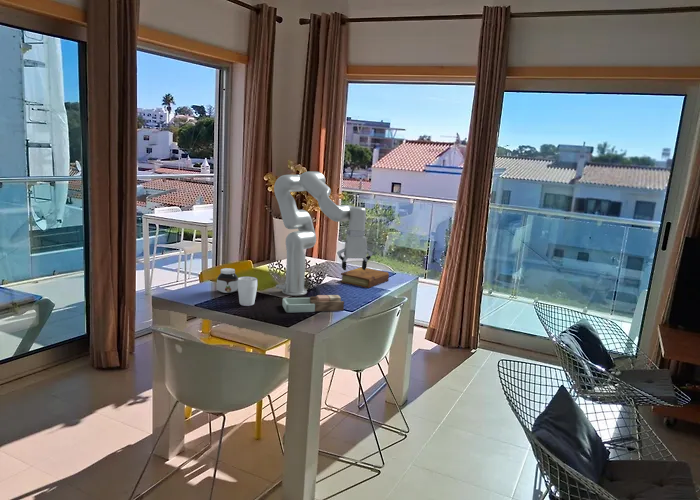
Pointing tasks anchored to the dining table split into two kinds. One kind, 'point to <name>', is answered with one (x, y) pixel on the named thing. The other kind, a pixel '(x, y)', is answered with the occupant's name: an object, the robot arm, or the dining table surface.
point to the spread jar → (227, 281)
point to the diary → (364, 277)
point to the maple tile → (334, 298)
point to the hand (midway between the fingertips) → (354, 269)
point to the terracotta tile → (322, 298)
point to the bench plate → (327, 305)
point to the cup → (247, 290)
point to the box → (298, 305)
